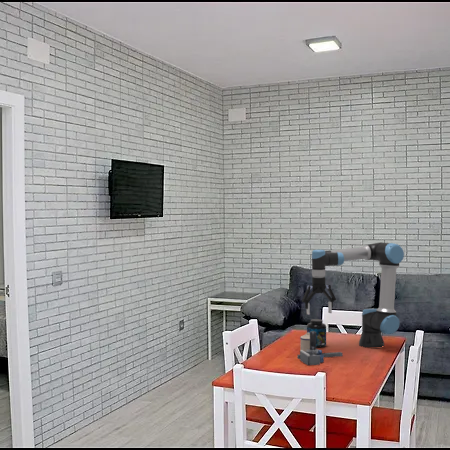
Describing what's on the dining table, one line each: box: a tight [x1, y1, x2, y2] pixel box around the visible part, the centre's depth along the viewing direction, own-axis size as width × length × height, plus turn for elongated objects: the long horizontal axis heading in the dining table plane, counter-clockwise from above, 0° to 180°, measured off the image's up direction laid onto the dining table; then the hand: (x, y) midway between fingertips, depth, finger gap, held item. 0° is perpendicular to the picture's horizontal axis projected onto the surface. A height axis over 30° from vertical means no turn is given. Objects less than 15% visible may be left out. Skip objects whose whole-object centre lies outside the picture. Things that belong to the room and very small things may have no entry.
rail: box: [296, 351, 343, 360], centre depth 345 cm, size 27×2×2 cm, turn 105°
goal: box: [299, 350, 321, 366], centre depth 333 cm, size 7×11×6 cm, turn 15°
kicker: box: [307, 331, 325, 364], centre depth 339 cm, size 6×14×14 cm, turn 15°
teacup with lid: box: [299, 332, 310, 351], centre depth 358 cm, size 12×9×12 cm
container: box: [306, 318, 327, 349], centre depth 373 cm, size 12×12×17 cm
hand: (319, 313), depth 346 cm, fingers open, 13 cm apart
